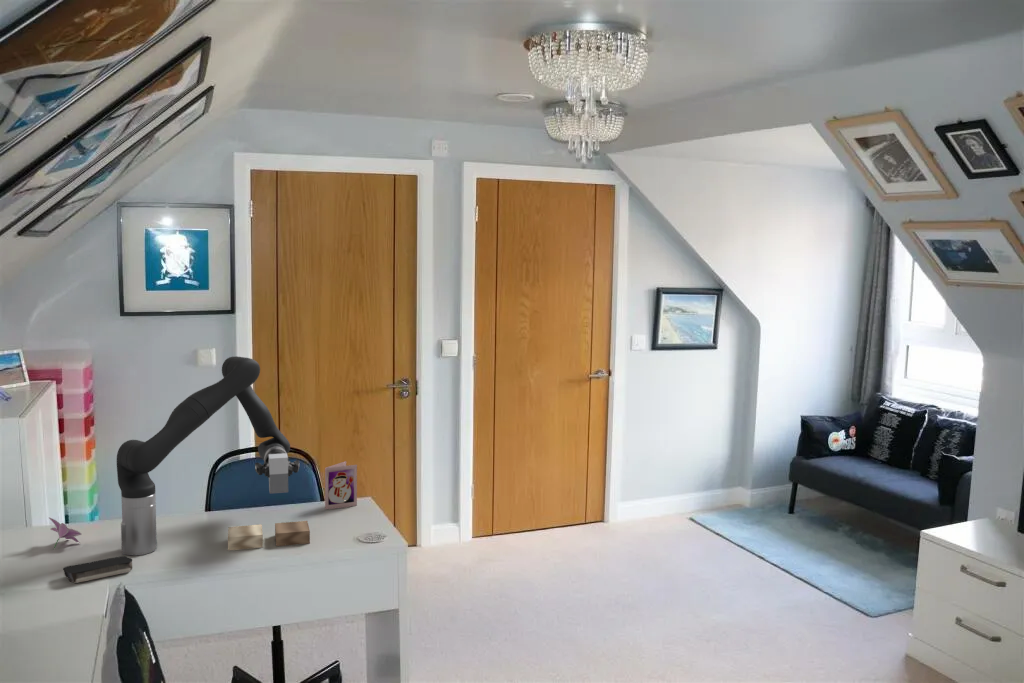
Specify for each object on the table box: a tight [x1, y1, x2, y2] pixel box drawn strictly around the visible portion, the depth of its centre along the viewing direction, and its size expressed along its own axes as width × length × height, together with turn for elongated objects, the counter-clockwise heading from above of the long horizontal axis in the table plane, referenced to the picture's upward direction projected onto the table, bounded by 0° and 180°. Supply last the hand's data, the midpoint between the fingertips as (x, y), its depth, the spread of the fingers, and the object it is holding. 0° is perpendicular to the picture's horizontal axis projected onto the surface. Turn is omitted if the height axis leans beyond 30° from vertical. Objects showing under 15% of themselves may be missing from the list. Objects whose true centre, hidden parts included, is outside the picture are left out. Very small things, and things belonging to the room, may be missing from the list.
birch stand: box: [227, 524, 264, 551], centre depth 248 cm, size 10×10×4 cm
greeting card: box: [324, 460, 358, 510], centre depth 288 cm, size 11×7×15 cm, turn 118°
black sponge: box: [62, 555, 133, 584], centre depth 222 cm, size 16×8×4 cm, turn 129°
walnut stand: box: [274, 520, 311, 547], centre depth 253 cm, size 10×10×4 cm
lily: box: [47, 516, 83, 549], centre depth 243 cm, size 11×11×9 cm
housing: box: [268, 453, 289, 495], centre depth 250 cm, size 6×6×11 cm
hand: (279, 473), depth 247 cm, fingers closed on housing, 5 cm apart
